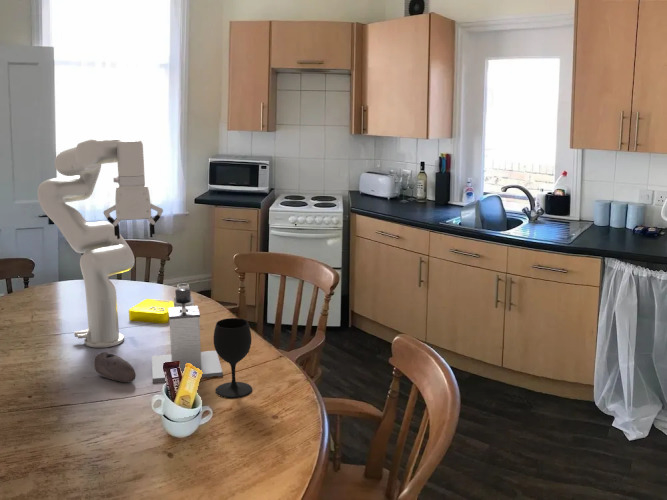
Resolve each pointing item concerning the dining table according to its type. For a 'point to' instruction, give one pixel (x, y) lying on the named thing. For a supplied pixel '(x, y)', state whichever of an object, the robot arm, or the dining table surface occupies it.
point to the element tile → (151, 311)
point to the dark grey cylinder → (183, 297)
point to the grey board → (208, 367)
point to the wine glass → (232, 352)
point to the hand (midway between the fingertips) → (135, 237)
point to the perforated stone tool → (114, 367)
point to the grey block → (185, 335)
